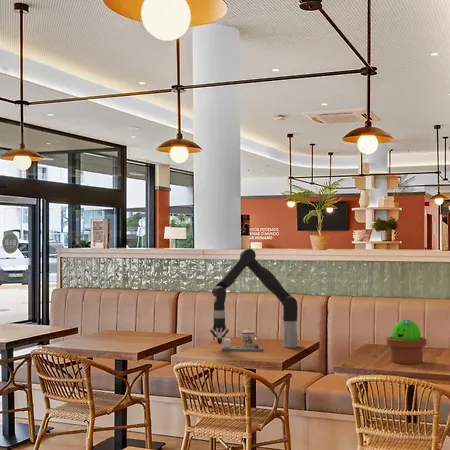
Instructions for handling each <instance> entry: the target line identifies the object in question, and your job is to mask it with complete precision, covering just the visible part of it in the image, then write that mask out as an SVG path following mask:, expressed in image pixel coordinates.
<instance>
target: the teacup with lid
mask: <svg viewBox="0 0 450 450" xmlns="http://www.w3.org/2000/svg"><path fill="white" fill-rule="evenodd" d="M255 336H256V337H255ZM254 338H258V341H259V339H260V335H258V334H256V331H254V330H252V329H250V327H247V328H246V329H244V330H242V331H241V346H254Z"/></svg>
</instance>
